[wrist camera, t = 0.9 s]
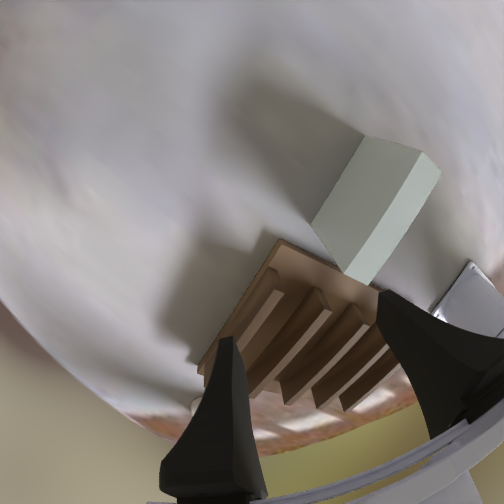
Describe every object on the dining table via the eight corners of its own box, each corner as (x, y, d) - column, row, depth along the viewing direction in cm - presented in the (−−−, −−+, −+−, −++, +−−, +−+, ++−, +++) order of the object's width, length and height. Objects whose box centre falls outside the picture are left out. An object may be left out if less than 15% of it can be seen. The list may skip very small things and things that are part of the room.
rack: (416, 307, 27) (434, 330, 23) (330, 395, 32) (337, 420, 29) (279, 238, 21) (290, 265, 18) (197, 366, 27) (196, 397, 24)
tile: (383, 150, 19) (442, 171, 13) (330, 235, 22) (367, 285, 15) (364, 135, 18) (422, 151, 12) (309, 224, 21) (343, 273, 15)
